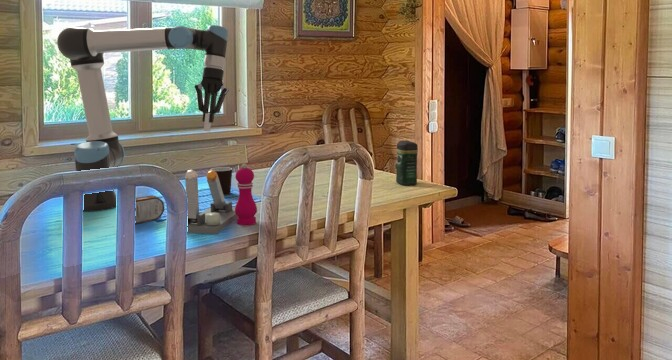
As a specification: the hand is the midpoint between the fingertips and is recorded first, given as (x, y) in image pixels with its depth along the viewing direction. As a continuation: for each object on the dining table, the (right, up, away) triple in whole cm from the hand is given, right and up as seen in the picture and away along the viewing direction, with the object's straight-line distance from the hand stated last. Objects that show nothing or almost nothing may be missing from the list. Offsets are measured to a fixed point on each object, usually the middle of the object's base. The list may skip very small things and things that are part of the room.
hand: (206, 131), depth 228 cm
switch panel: (+8, -32, -26) cm, 42 cm away
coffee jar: (+79, -20, +33) cm, 88 cm away
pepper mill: (+19, -33, -27) cm, 47 cm away
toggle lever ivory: (+3, -31, -35) cm, 47 cm away
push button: (+10, -32, -36) cm, 50 cm away
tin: (-16, -33, -25) cm, 44 cm away
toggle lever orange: (+9, -28, -20) cm, 36 cm away
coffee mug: (+3, -24, +18) cm, 30 cm away
